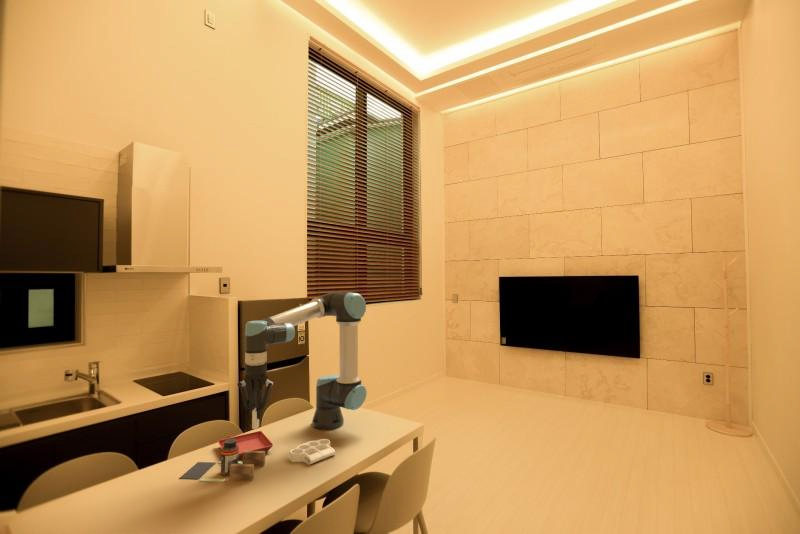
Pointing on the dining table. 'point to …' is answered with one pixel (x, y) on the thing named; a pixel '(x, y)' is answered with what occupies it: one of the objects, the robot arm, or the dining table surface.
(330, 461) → the dining table surface
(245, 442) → the plant saucer
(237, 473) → the tunnel
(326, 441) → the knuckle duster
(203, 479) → the strips
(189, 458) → the dining table surface
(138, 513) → the dining table surface
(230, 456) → the supplement bottle
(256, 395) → the robot arm
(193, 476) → the mat
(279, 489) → the dining table surface
